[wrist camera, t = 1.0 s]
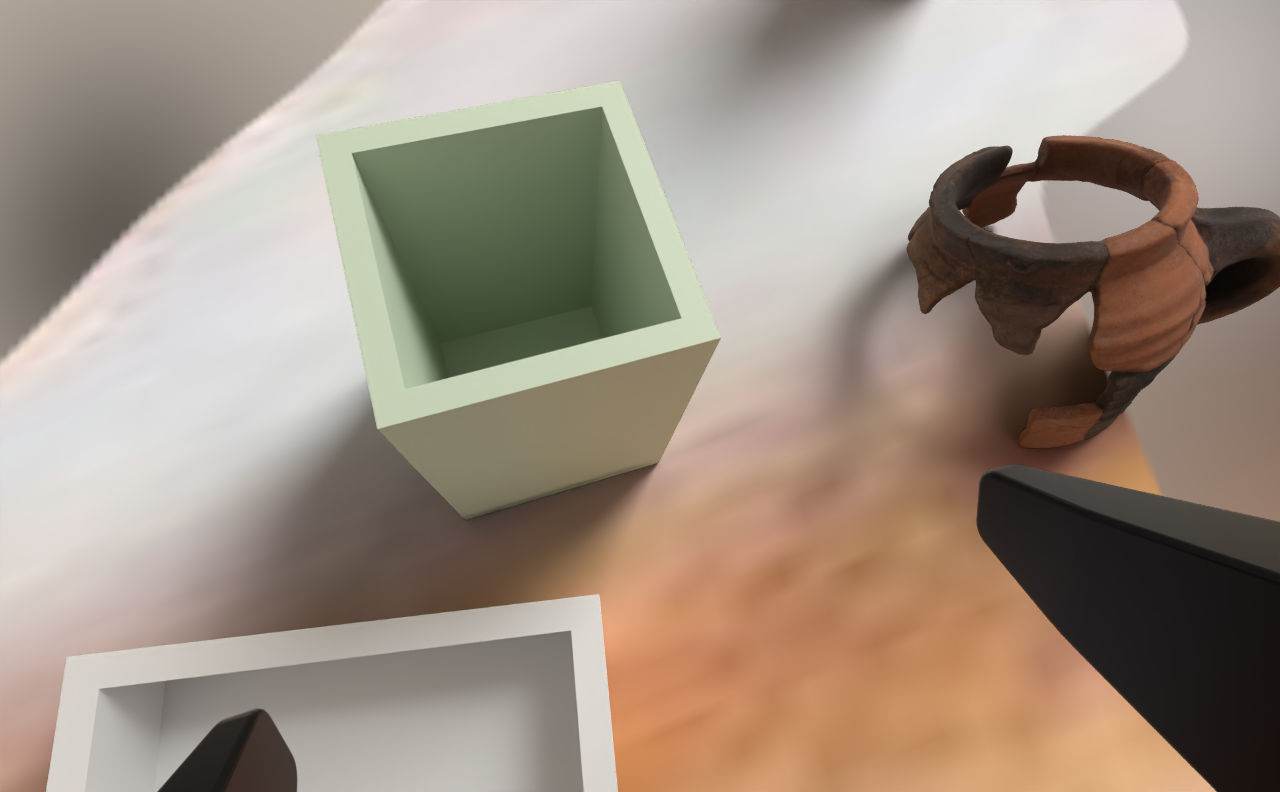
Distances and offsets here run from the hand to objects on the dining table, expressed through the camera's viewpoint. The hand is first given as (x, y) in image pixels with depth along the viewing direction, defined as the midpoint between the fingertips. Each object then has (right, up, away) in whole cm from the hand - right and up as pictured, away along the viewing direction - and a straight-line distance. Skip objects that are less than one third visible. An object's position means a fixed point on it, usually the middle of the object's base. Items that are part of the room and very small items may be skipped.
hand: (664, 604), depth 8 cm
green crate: (-4, +2, +15) cm, 15 cm away
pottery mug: (+15, +5, +18) cm, 24 cm away
